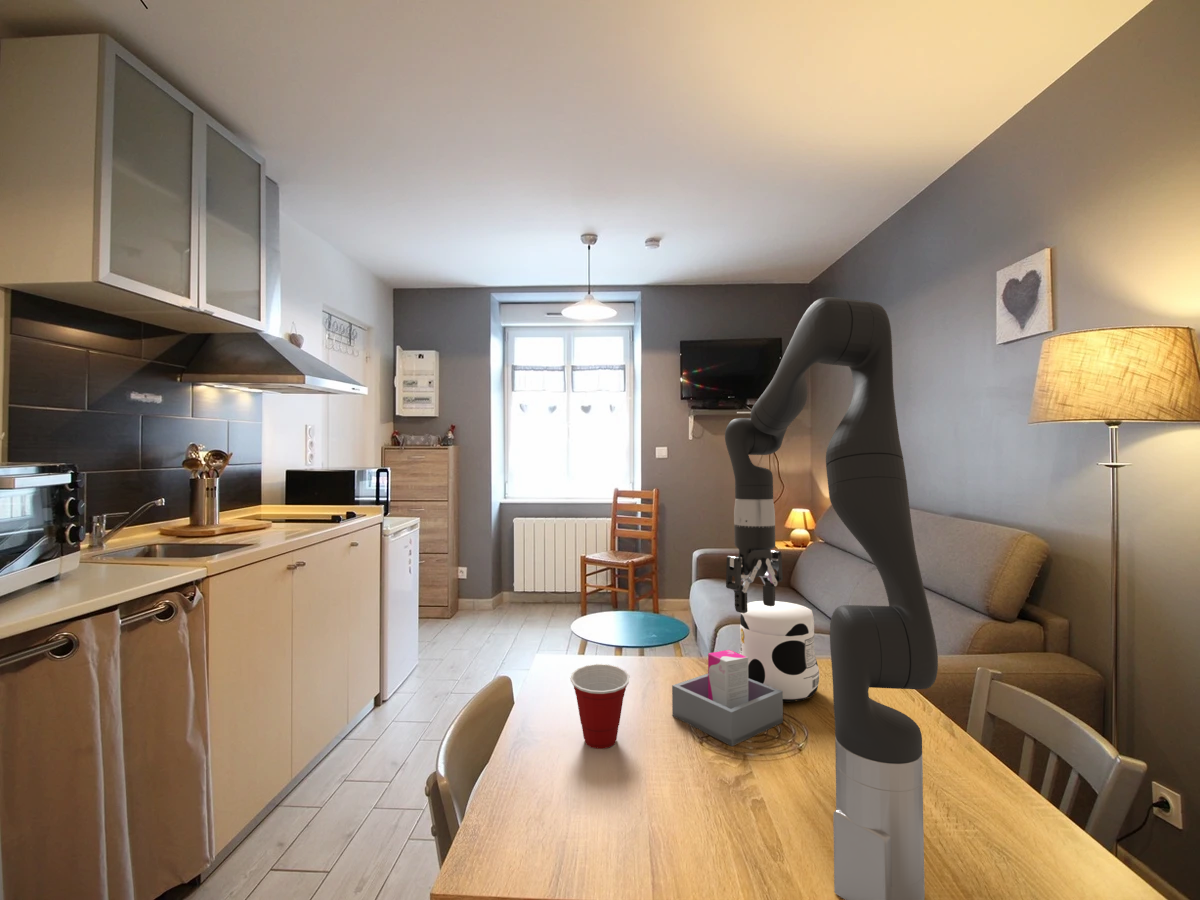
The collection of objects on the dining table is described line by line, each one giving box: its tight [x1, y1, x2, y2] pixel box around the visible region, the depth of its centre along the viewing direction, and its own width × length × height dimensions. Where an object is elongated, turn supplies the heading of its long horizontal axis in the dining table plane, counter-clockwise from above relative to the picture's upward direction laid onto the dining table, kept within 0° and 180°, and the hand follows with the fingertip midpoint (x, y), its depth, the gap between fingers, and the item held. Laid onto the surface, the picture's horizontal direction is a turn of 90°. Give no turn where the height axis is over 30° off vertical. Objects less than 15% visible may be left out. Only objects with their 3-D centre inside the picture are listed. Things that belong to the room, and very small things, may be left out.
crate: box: [671, 673, 784, 747], centre depth 110 cm, size 15×15×6 cm
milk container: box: [738, 600, 820, 703], centre depth 123 cm, size 17×17×18 cm
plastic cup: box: [569, 663, 631, 749], centre depth 101 cm, size 11×11×12 cm
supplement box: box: [707, 649, 748, 709], centre depth 110 cm, size 6×6×12 cm
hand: (755, 608), depth 106 cm, fingers open, 8 cm apart
